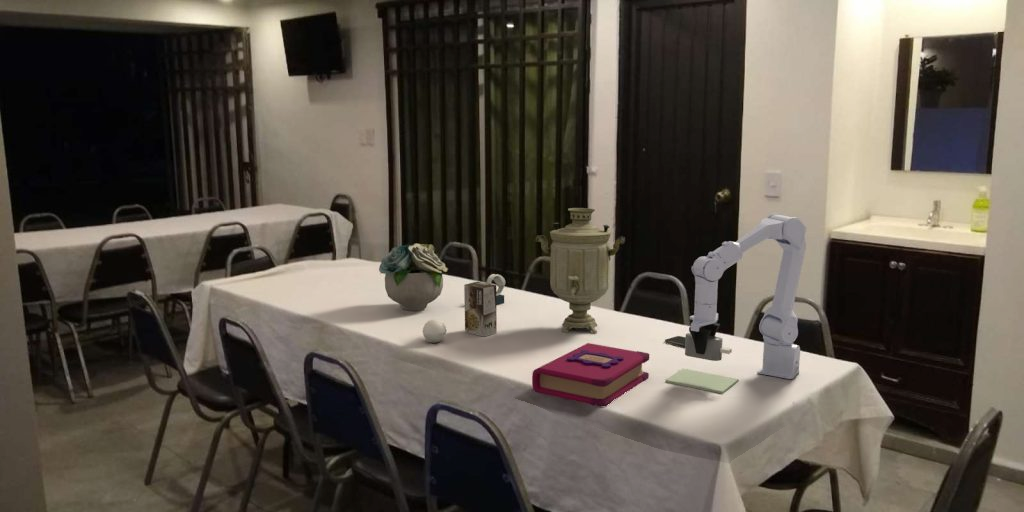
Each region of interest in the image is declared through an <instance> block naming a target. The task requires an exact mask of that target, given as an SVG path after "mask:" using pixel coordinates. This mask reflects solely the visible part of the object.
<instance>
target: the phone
mask: <svg viewBox="0 0 1024 512" xmlns="http://www.w3.org/2000/svg"><path fill="white" fill-rule="evenodd" d="M685 340H686V336H683V335H682V336H681V335H677V336H673V337H670V338H666V339H664V343H666V344H668V345H672V346H676V347H680V348H683V349H685Z"/></svg>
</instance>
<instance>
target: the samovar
mask: <svg viewBox="0 0 1024 512" xmlns="http://www.w3.org/2000/svg"><path fill="white" fill-rule="evenodd" d="M567 210H568V211H569V213H570V215H569V217H570V220H571V221H572V222H571V223H569V224H567V225H565V227H562V228H559V224H560V223H559V222H554V223H552V226H554V230H551V231H549V233H550V238H551V240H552V242H551V245H550V247H549V242H548V239H547V237H546V236H545V235H541V234H540V235H538V234H537V235H536V236H535V238H534V241H535V242H536V243H537V242H540V248H541V250H542V251H543V253H544V254H547V255H549V258H550V259H549V260H550V263H549V264H550V268H549V269H550V270H549V273H550V274H549V275H550V277H549V278H550V281H549V283H550V289H551V291H552V292H553V294H554V295H556V296H557V297H558V298H559V299H561V300H562V301H564V302H565V303H569V304H568V307H569V310H571V311H572V313H571V314H570V313H569V314H568V315H567V317H565V318H564V320H563V322H562V325H564V328H563V329H562V330H561V333H563V334H565V333H568V331H570V330H571V329H573V328H575V329H579V328H580V329H585V328H586V329H588V330H589V331H590V332H591V334H594V335H595V334H597V333H598V331H597V329H595V326H598V324H597V322H596V319H595V318H594V317H593V316H592V315H591V314H589V313H588V311H590V310H591V303H594V302H596V301H598V300H599V299H601V298H602V297H603V296H604V295H605V296H606V293H607V292H608V290H609V287H610V265H611V263H610V262H611V257H612V256H615V254H616V253H617V252H618V251H619V249H620V245H623V244H625V243H626V237H625V236H618V237H617V238H616V240H615V241H614V244H613V245H612V248H611V246H610V244H609V241H610V238H611V234H612V232H611V231H609V228H610V225H608V224H603V225H602V226H603V229H601V228H598V227H597V226H596V225H594V224H592V223H590V221H591V220H592V214H593V213H594V212H595V211H596V209H593V208H588V207H587V208H586V207H585V208H584V207H572V208H571V207H570V208H568V209H567Z"/></svg>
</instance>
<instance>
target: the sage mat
mask: <svg viewBox="0 0 1024 512" xmlns="http://www.w3.org/2000/svg"><path fill="white" fill-rule="evenodd" d="M664 380H665V381H664V382H665V383H668V384H673V385H677V386H678V385H679V386H683V387H687V388H688V387H689V388H693V389H698V390H702V391H703V390H704V391H708V392H713V393H719V394H721V395H722V394H724V393H726V392H727V391H728V390H730V388H732V387H733V386H735V385H736V384H737V383H738V382H739V381H740V379H739V378H736V377H731V376H726V375H725V376H724V375H720V374H716V373H715V374H713V373H709V372H705V371H704V372H703V371H698V370H695V369H694V370H693V369H688V368H681V369H680V370H678V371H677V372H675V373H674V374H672V375H670V376H669V377H667V378H666V379H664Z"/></svg>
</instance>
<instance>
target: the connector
mask: <svg viewBox="0 0 1024 512" xmlns="http://www.w3.org/2000/svg"><path fill="white" fill-rule="evenodd" d="M685 337H686V340H685V348H684V355H685V356H687V357H691V358H696V359H702V360H707V361H712V362H719V361H722V358H723V357H722V356H723V354H724V355H725V354H727V355H730V354H731V353H732V352H733V349H732V348H730V347H725V346H723V338H722V337H721V336H720V337H719V336H716V335H715V336H709V337H708V340H707V344H706V350H705V353H704V354H697V353H696V350H695V345H694V341H693V338H692V335H691V333H690V332H688V333H685Z"/></svg>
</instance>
